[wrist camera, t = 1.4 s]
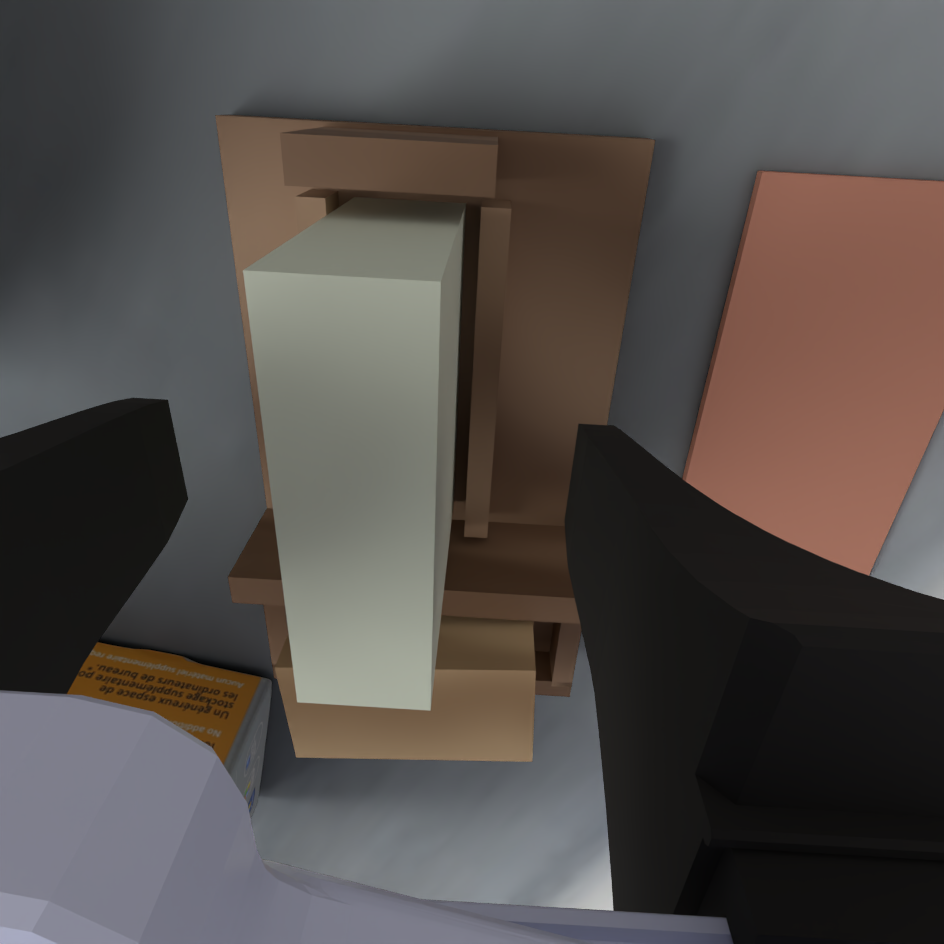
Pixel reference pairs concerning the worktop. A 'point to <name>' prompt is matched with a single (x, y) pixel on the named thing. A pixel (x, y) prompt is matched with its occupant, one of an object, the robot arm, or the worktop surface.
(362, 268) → the panel
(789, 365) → the mat
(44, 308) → the worktop surface
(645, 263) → the worktop surface
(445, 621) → the offcut upper
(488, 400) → the rack
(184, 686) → the hard drive box
